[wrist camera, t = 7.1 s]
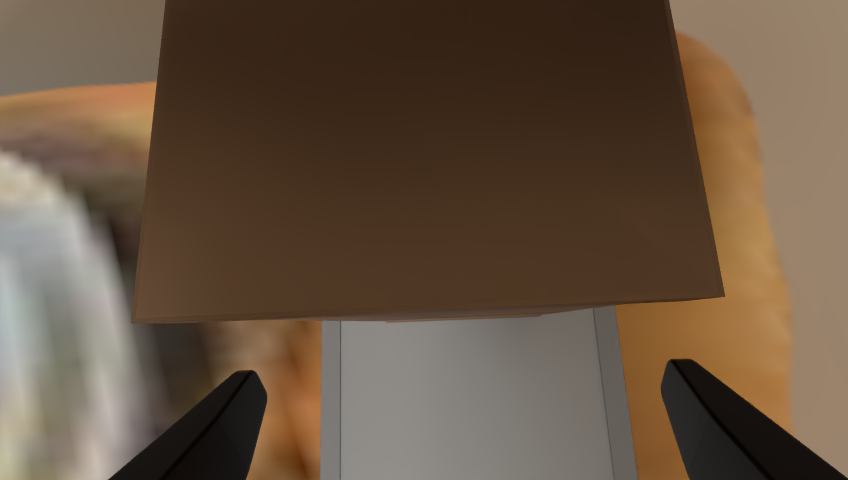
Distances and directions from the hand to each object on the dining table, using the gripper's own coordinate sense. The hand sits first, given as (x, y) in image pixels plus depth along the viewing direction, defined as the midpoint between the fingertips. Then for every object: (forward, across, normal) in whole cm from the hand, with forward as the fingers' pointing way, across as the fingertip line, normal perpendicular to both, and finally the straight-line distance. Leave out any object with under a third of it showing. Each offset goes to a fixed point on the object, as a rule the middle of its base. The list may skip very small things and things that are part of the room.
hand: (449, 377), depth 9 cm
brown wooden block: (+9, 0, +2) cm, 9 cm away
